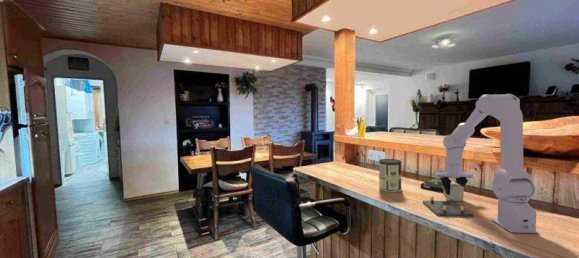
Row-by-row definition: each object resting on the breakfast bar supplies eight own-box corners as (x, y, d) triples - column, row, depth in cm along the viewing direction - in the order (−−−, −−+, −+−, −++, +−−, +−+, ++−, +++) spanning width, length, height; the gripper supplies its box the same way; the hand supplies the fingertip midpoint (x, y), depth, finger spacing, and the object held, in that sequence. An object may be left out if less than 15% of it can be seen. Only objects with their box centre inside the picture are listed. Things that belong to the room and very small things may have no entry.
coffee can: (390, 184, 130) (390, 157, 129) (406, 190, 121) (406, 161, 120) (374, 187, 127) (374, 159, 126) (389, 193, 117) (389, 163, 116)
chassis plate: (473, 216, 90) (473, 208, 90) (437, 215, 92) (437, 207, 91) (453, 203, 103) (453, 196, 103) (422, 202, 104) (422, 195, 104)
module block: (453, 194, 113) (453, 181, 113) (463, 200, 105) (463, 186, 105) (443, 194, 113) (443, 181, 113) (453, 200, 105) (453, 186, 105)
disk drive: (443, 194, 116) (455, 187, 126) (443, 188, 116) (455, 181, 126) (420, 189, 124) (432, 182, 134) (420, 183, 124) (432, 177, 134)
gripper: (466, 161, 111) (465, 191, 112) (431, 161, 113) (431, 191, 114) (476, 164, 104) (475, 196, 105) (439, 164, 106) (438, 196, 107)
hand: (453, 194), depth 109 cm, fingers closed on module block, 4 cm apart
